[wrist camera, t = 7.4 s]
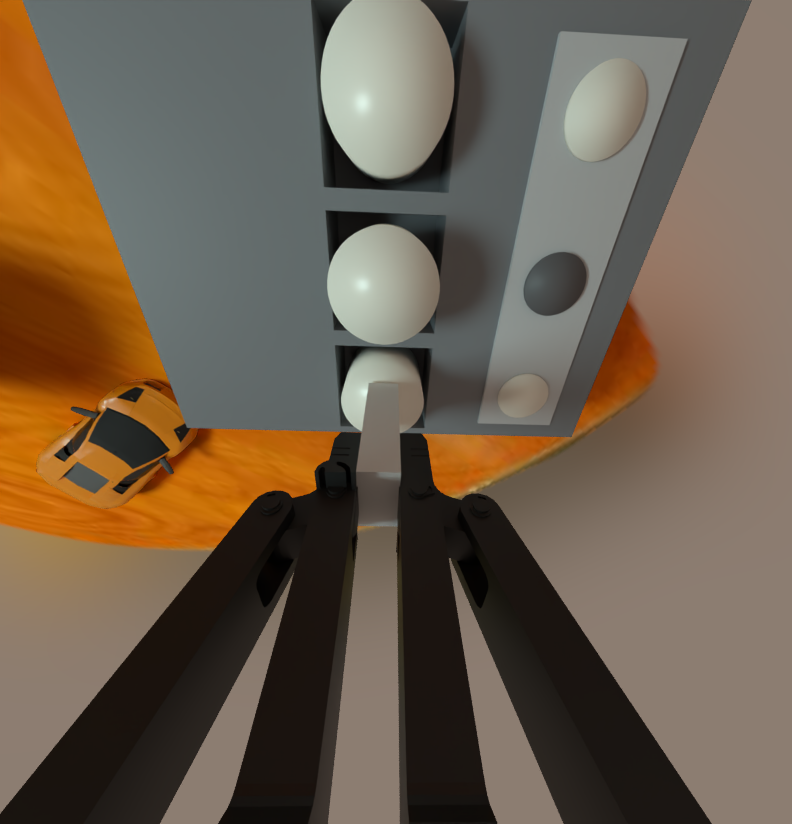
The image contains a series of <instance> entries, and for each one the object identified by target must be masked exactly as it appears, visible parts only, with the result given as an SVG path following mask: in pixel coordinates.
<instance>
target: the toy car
mask: <svg viewBox="0 0 792 824" xmlns="http://www.w3.org/2000/svg"><path fill="white" fill-rule="evenodd" d="M71 410H72V411H74V412H76V413H79V414H81V415H84V416H87V417H86V418H85V419H84V420H82V421H81V422H80V423H79V422H78V423H75V424H73V425H72V426H71V427H70V428H69V429H68V431H67V432H66V433H64V434H63V435H62V436H59V437H58V438H57V439H56V440H54V441H53V442H52V443H51V444H49V445H48V446H47V447H46V448H45V449H44V450H43V451H42V452H41V453H40V454H39V455H38V460H37V463H36V467H37V469H36V472H37V473H38V474H39V475H40V476H41V477H42V478H43V479H44V480H45V481H46V482H47V483H48V484H50V485H52V486H54V487H56V488H57V489H59V490H61V491H63V492H65V493H67V494H69V495H70V496H72V497H74V498H76V499H78V500H80V501H82V502H84V503H86V504H88V505H90V506H95V507H99V508H103V509H109V508H114V507H117V506H120V505H123V504H125V503H127V502H128V501H129V500H130V499H132V498H133V497H134V496H135V495H136V494H137V493H138V492H139V491H140V490H141V489H142V488H143V487H144V486H145V484H146V483H147V482H149V481H150V480H151V479H153V478H155V476H156V475H157V471H158V470H159V469H160V468H161V467H162V466H163V467H164V468H165V470H166V471H167V472H168V473H169V474H173V473H174V472H173V469H172V467H171V466H170V464H169V463H168V462H167V461H168V460H169V459H170V458H172V457H175V456H176V455H178V454H179V453H180V452H181V451H182V450H184V449H185V448H186V447H187V446H188V445H189V444H190V443H191V442H192V441H193V440H194V439H195V437H196V436H197V432H198V429H199V428H187V426H186V424H185V421H184V418H183V416H182V413H181V411H180V408H179V405H178V403H177V400H176V398H175V395H174V392H173V390H171V389H170V388H168V387H167V386H165V385H163V384H161V383H159V382H157V381H155V380H151V379H136V380H133V381H129V382H125V383H122V384H120V385H119V386H117V387H116V388H115V389H113V390H112V391H110V392H109V393H108V394H107V395H106V396H105V397H103V398H102V399H101V400H100V401H99V403H98V405H97V407H96V409H95V410H94V411H93V412H92V411H90V410H86V409H83V408H79V407H71Z"/></svg>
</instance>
